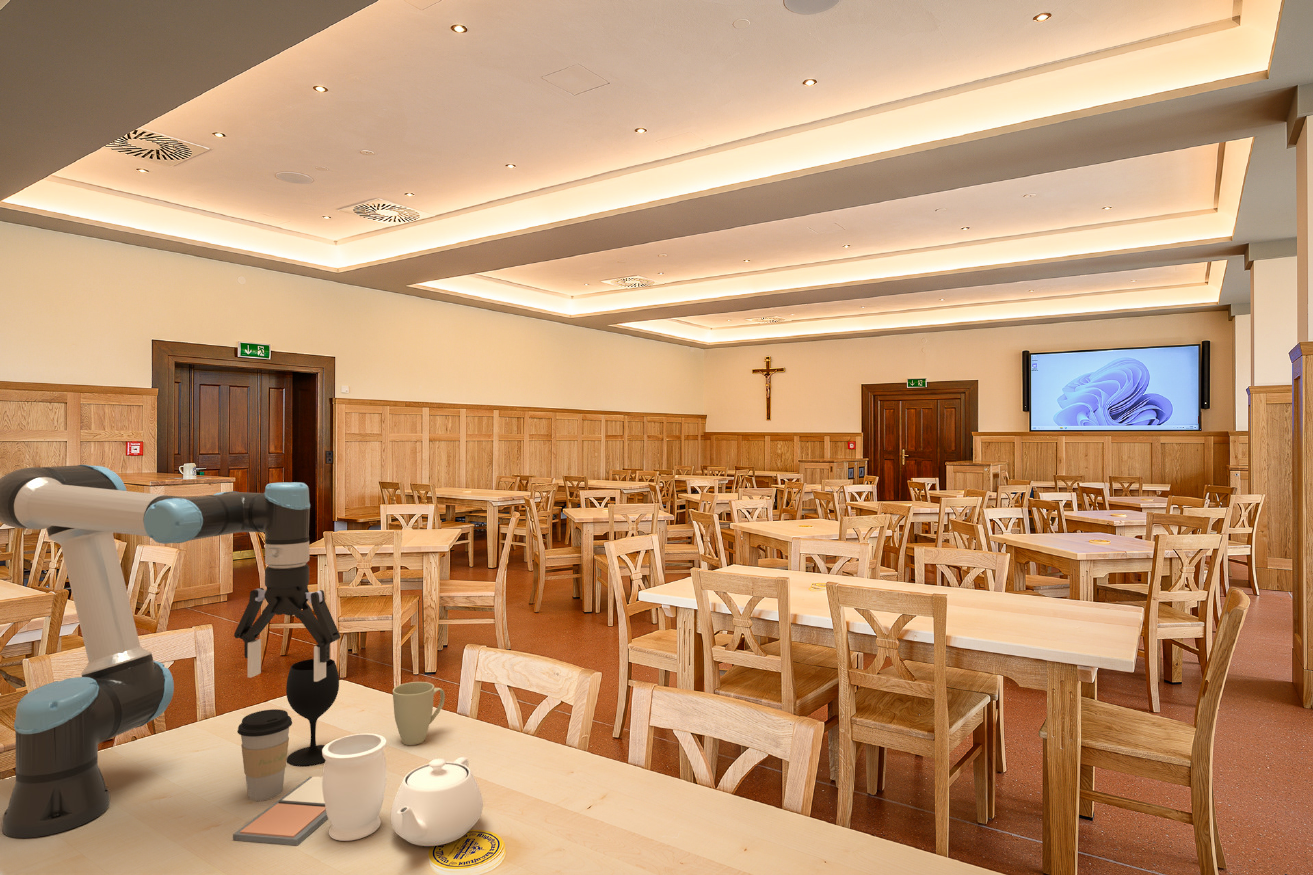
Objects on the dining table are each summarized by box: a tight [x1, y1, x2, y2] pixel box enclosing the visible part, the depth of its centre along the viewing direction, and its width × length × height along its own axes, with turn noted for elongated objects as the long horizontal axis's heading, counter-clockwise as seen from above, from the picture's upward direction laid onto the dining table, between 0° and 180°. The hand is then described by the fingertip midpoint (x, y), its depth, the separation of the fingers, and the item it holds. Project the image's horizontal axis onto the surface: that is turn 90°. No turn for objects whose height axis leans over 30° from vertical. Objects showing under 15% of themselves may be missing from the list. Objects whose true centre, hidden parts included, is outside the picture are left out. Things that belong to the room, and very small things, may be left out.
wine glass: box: [285, 658, 340, 768], centre depth 162 cm, size 10×10×20 cm
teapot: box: [390, 756, 484, 847], centre depth 131 cm, size 25×16×12 cm, turn 170°
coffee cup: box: [237, 708, 293, 802], centre depth 145 cm, size 9×9×15 cm
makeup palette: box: [232, 776, 329, 847], centre depth 138 cm, size 12×22×2 cm, turn 172°
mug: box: [392, 681, 446, 746], centre depth 171 cm, size 11×10×12 cm
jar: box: [321, 733, 388, 842], centre depth 132 cm, size 11×10×15 cm
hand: (286, 677), depth 141 cm, fingers open, 13 cm apart
